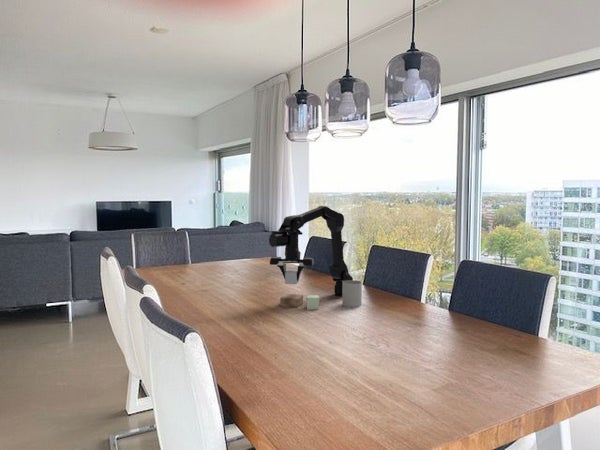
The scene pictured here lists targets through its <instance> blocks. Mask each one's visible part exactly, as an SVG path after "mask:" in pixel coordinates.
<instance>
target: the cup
mask: <svg viewBox="0 0 600 450" xmlns="http://www.w3.org/2000/svg"><path fill="white" fill-rule="evenodd" d="M362 292H363V282H362V281H361V280H360V281H359V280H355V279H353V280H347V281H343V289H342V296H341V297H342V298H341V299H342V300H341V301H342V306H345V307H350V308H358V307H361V306H362V302H363V301H362V299H363V298H362V296H363V293H362Z"/></svg>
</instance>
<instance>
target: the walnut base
mask: <svg viewBox="0 0 600 450" xmlns="http://www.w3.org/2000/svg"><path fill="white" fill-rule="evenodd" d="M279 297H280V296H279ZM279 302H280V303H279V304H280V305H279V306H280V307H288V308H299V307H301V306H302V304H304V294H297V293H296V294H295V293H284V294H283V295H282V296H281V297H280V298H279Z"/></svg>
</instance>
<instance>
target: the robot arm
mask: <svg viewBox="0 0 600 450" xmlns="http://www.w3.org/2000/svg"><path fill="white" fill-rule="evenodd" d="M319 218H321V219H323V220H325V221H326V226H327V228H328V229H329V231H330V238H331V239H330V240H331V249H332V263H331V265H329V274H330V276H331V278H332V280H333V282H335V284H334V296H336V297H337V296H340V297H342V289H343V281H347V280H354V278H353V276H352V275H351V274H350V272H349V267H348V265H347V264H346V262H345V258H344V250H343V249H344V247H343V246H344V245H343V237H342V235H343V233H342V232H343V231H342V230H343V229H344V226H345V217H344V215H343V214H342V213H340V212H338V211H336V210H333V209H332V208H330V207H328V206H326V205H318V206H317V207H315V208H313V209H311V210H307V211H306V212H303V213H300V214H296V215H288V216H285V217H284V218H283V221H282V223H281V225H280V227H279V228H278V230H272V231H271V234H270V235H269V238H268V243H269V245H270V246H271V248H278V247H279V248H280V247H285V248H284V258H282V257H281V256H273V257H270V258H269V265H275V266H276V267H277V268H279V270H280V271H281V273H282V276H283V278H284V280H285V272H286V271H287V264H298V265H297V270H296V271H297V281H300V277H301V274H302V272H303V269H304V268H306V267H312V266H314V265H315V260H314V258H313V257H304V258H303V259H302V258H301V251H300V248H299V236H301V235H303V232H302V231H300V229H301V228H303V227H304V225H305V224H307V223H308V222H311V221H314V220H316V219H319Z"/></svg>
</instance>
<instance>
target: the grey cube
mask: <svg viewBox="0 0 600 450" xmlns="http://www.w3.org/2000/svg"><path fill="white" fill-rule="evenodd" d="M297 271H298V270H286V272H285V279H284V284H285V285H297V284H299V281H300V280H299V281H297Z"/></svg>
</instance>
